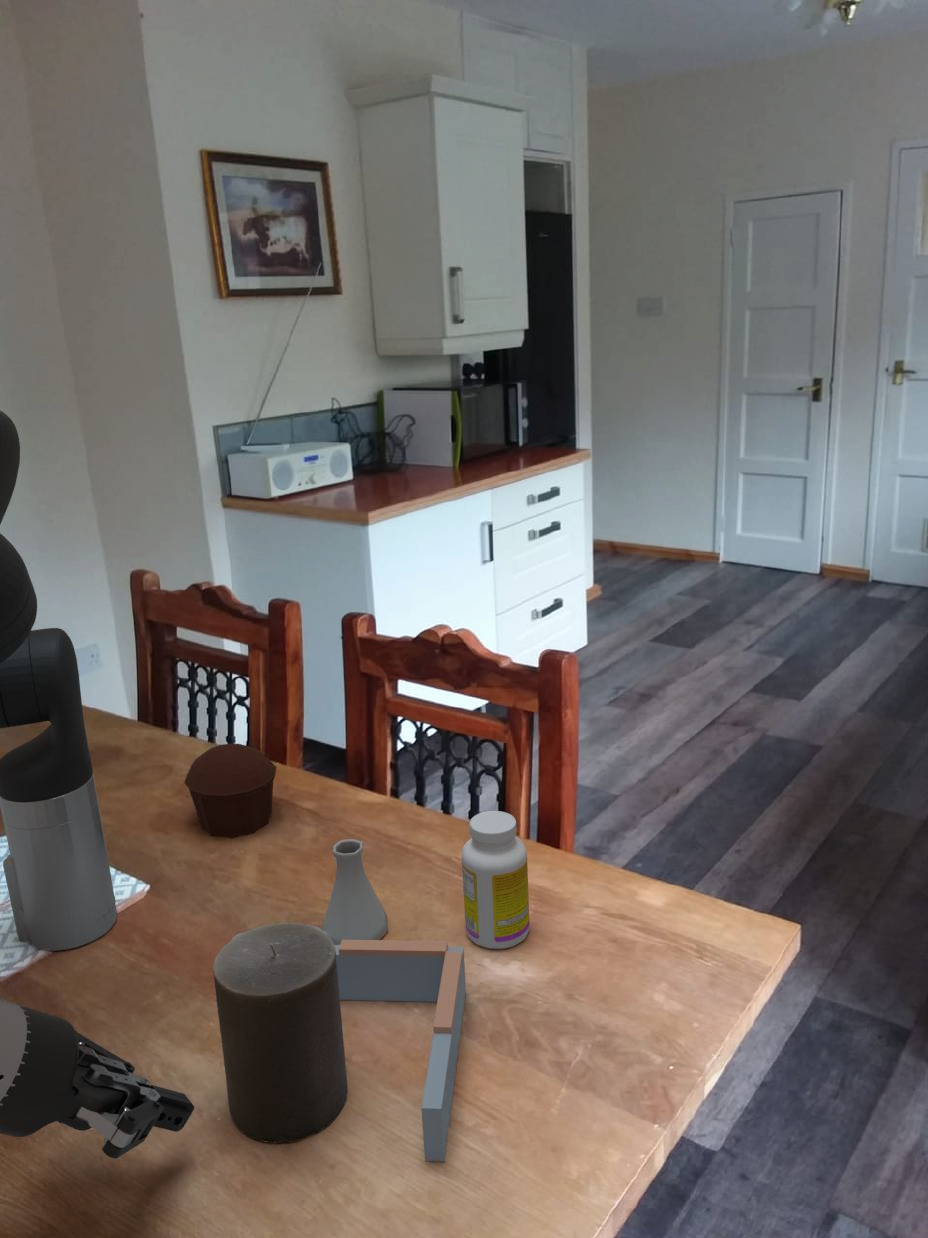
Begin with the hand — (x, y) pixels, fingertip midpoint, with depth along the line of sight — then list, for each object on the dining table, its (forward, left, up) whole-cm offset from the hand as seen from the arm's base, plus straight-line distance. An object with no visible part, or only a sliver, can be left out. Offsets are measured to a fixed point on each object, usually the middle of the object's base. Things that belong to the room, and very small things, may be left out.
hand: (183, 1113), depth 75 cm
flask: (+7, +29, -4) cm, 31 cm away
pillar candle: (+6, +6, -4) cm, 10 cm away
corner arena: (+10, +10, -4) cm, 15 cm away
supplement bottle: (+22, +29, -4) cm, 37 cm away
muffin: (-13, +52, -4) cm, 54 cm away
